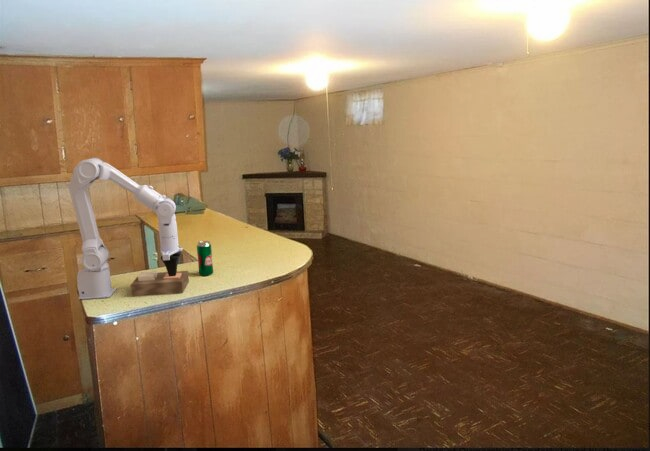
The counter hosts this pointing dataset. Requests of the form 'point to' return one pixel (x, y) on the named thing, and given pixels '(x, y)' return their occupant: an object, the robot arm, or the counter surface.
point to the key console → (160, 285)
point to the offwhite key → (147, 276)
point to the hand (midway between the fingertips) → (172, 275)
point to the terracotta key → (173, 276)
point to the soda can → (204, 258)
